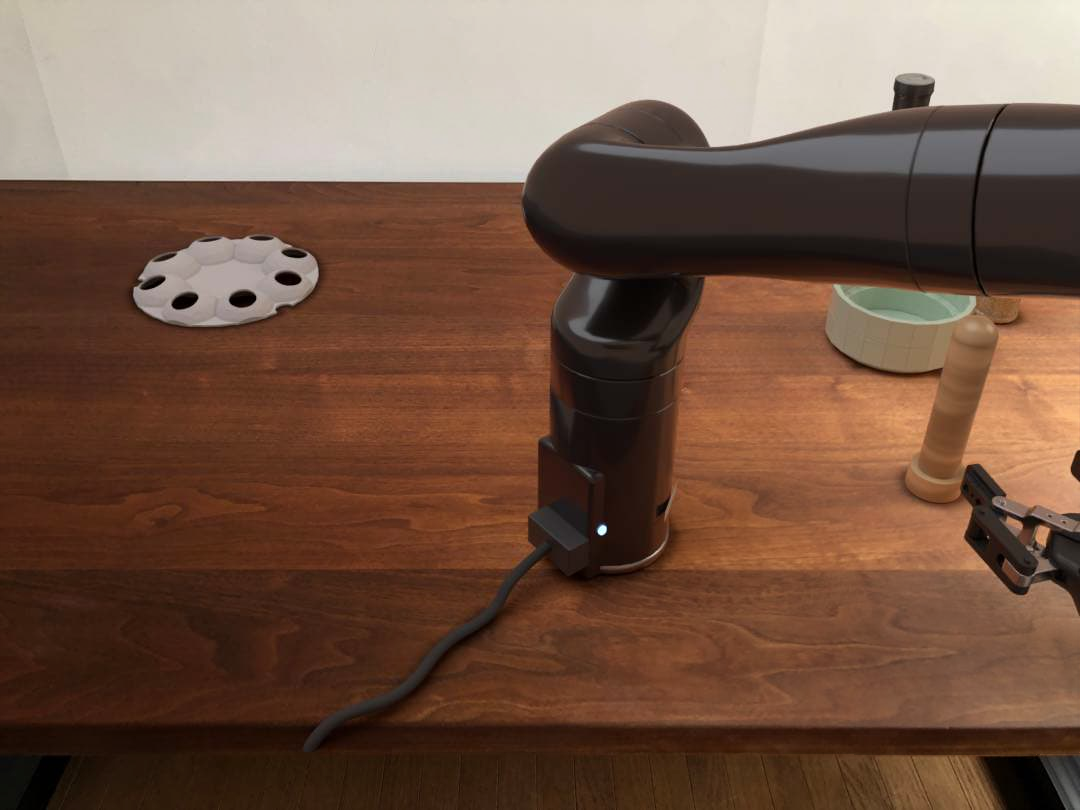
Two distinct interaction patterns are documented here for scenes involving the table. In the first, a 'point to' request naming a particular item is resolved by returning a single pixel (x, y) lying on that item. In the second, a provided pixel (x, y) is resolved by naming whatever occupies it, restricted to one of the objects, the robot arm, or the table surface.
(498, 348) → the table surface
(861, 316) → the bowl
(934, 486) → the pestle
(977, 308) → the sprinkles bottle
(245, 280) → the paint palette
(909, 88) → the sauce bottle
